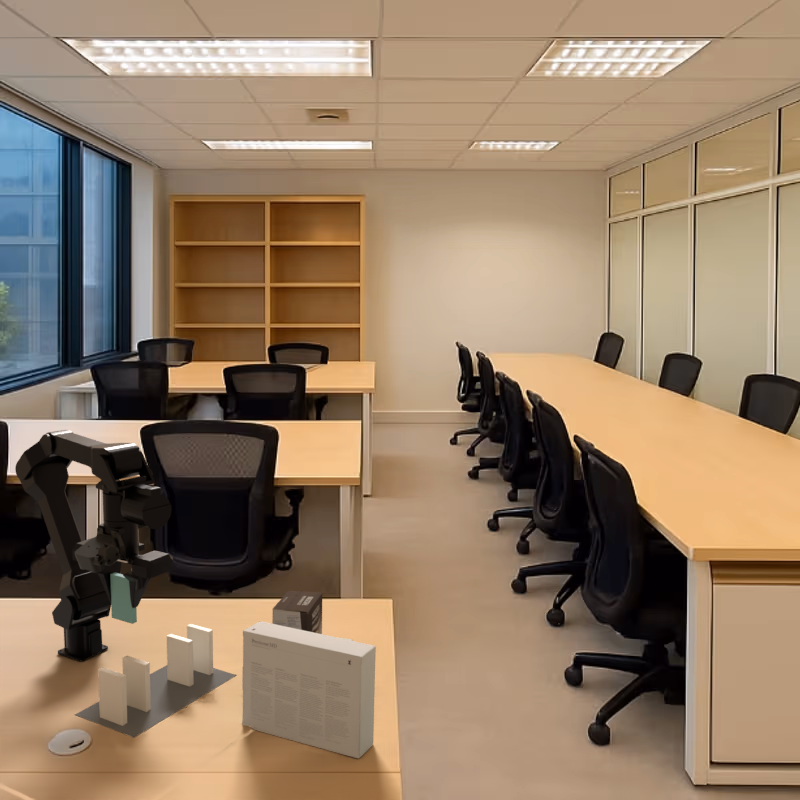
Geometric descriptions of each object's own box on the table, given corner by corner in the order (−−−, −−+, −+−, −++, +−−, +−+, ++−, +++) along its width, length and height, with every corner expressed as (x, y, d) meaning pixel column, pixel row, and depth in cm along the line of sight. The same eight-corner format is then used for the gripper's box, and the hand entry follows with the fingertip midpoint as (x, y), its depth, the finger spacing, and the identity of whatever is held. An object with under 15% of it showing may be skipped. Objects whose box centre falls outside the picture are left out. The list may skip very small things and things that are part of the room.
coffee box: (308, 704, 147) (308, 612, 144) (270, 700, 148) (270, 608, 145) (323, 679, 156) (323, 591, 153) (288, 675, 157) (288, 588, 154)
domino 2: (123, 703, 145) (122, 657, 144) (128, 701, 146) (126, 655, 145) (146, 712, 143) (144, 665, 141) (150, 709, 143) (149, 662, 142)
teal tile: (111, 617, 156) (110, 574, 154) (116, 615, 156) (114, 572, 155) (132, 623, 153) (131, 579, 152) (136, 621, 154) (135, 577, 153)
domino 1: (99, 717, 141) (98, 669, 139) (104, 714, 142) (103, 667, 140) (122, 725, 138) (121, 677, 137) (127, 723, 139) (125, 675, 138)
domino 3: (167, 679, 154) (166, 635, 152) (171, 677, 154) (170, 633, 153) (189, 686, 151) (188, 642, 150) (193, 684, 152) (192, 640, 151)
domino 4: (187, 668, 158) (186, 625, 157) (191, 666, 159) (190, 623, 157) (209, 675, 155) (208, 631, 154) (213, 672, 156) (212, 629, 155)
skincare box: (376, 743, 136) (377, 644, 133) (359, 760, 131) (360, 659, 128) (260, 711, 144) (259, 618, 142) (240, 726, 140) (239, 631, 137)
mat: (74, 716, 141) (74, 714, 141) (180, 659, 162) (180, 657, 162) (134, 739, 135) (134, 737, 135) (236, 677, 156) (236, 675, 156)
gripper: (44, 520, 150) (48, 608, 152) (124, 538, 141) (127, 632, 143) (96, 505, 159) (99, 588, 162) (174, 521, 150) (176, 609, 153)
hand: (123, 604), depth 154 cm, fingers closed on teal tile, 5 cm apart
